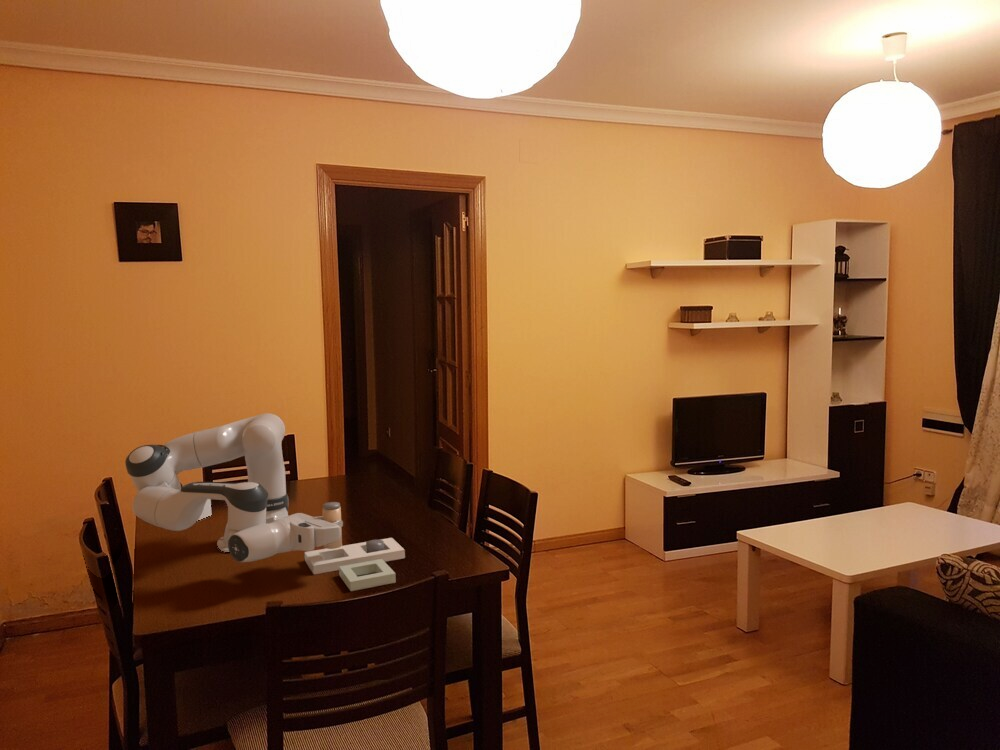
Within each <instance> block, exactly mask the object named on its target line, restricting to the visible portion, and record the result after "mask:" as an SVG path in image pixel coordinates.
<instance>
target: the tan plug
mask: <svg viewBox="0 0 1000 750" xmlns="http://www.w3.org/2000/svg"><path fill="white" fill-rule="evenodd" d="M341 510H342V508H341V503H340V502H337V501H330V502H325V503H323V504H322V516H323V520H324V521H327V522H330V523H334V522H335V521H336V520H341V521H342V511H341ZM340 530H341V537H340V538H339V539H338V540H337V541H334V542H332V543H329V544H326V545H323V549H326V548H327V549H335V548H339V547H341V546H343V537H342V535H343V533H342V532H343V531H342V527H340Z"/></svg>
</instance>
